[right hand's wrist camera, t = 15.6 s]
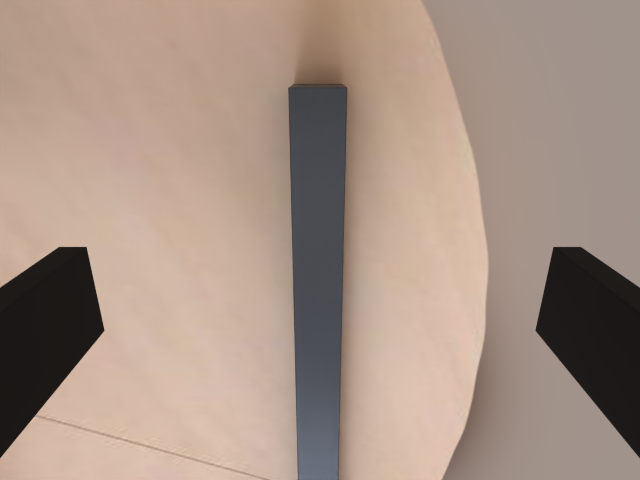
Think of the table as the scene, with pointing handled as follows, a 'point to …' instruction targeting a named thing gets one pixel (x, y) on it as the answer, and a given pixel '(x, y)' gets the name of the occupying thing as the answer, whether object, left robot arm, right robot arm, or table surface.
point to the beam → (317, 269)
